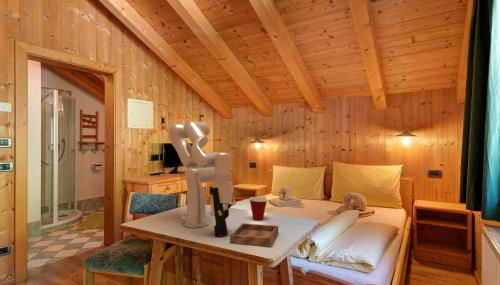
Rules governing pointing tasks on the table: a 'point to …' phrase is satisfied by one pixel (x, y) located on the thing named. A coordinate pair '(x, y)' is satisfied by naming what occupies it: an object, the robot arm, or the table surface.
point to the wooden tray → (254, 235)
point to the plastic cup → (258, 207)
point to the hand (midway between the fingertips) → (223, 217)
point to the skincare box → (213, 209)
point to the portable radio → (218, 214)
